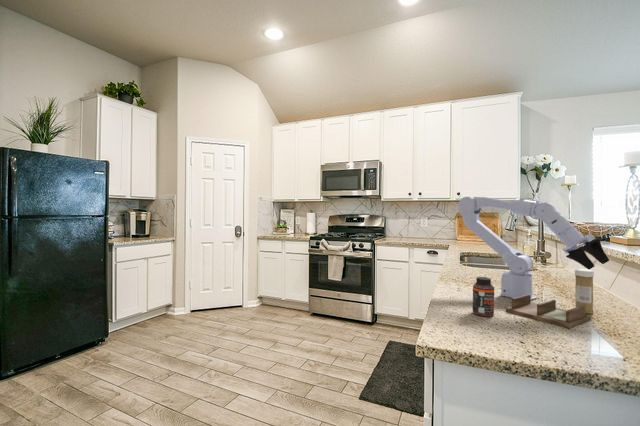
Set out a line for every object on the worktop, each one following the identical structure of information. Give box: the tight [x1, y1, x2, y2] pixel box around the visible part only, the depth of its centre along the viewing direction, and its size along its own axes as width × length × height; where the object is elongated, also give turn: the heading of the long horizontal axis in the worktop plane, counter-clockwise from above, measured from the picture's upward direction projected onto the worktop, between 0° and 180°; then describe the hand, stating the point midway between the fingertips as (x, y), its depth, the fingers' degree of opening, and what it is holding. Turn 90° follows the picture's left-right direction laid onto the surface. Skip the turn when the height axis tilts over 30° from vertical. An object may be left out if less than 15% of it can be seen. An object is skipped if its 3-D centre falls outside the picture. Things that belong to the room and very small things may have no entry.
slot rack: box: [505, 294, 592, 329], centre depth 96 cm, size 17×14×4 cm
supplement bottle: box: [472, 276, 495, 318], centre depth 96 cm, size 6×6×11 cm
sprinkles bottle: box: [574, 268, 595, 315], centre depth 99 cm, size 5×5×14 cm
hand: (598, 265), depth 100 cm, fingers open, 7 cm apart
